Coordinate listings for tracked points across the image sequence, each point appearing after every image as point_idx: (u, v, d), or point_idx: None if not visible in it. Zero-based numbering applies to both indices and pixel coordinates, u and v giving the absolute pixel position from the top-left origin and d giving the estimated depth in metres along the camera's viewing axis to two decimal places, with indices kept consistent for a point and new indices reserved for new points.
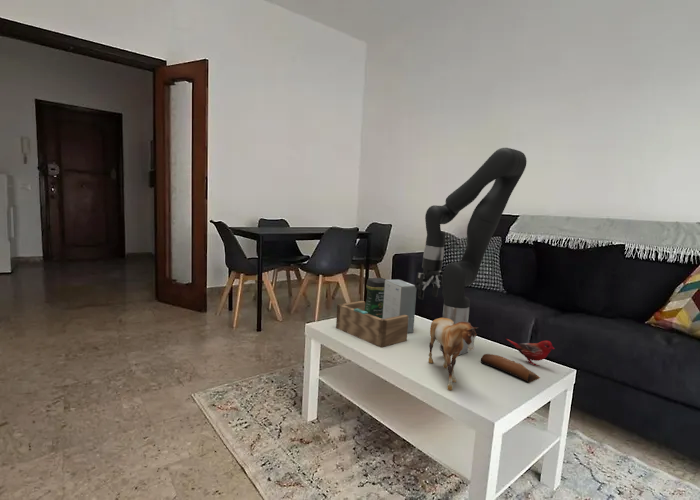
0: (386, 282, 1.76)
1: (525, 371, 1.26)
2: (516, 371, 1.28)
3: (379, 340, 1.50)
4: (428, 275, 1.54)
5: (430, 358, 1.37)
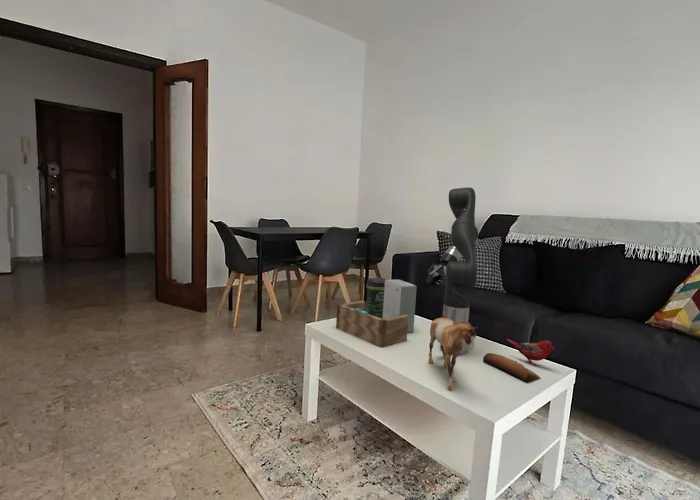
0: (386, 282, 1.76)
1: (524, 371, 1.26)
2: (516, 370, 1.28)
3: (379, 340, 1.50)
4: (438, 266, 1.93)
5: (430, 358, 1.37)
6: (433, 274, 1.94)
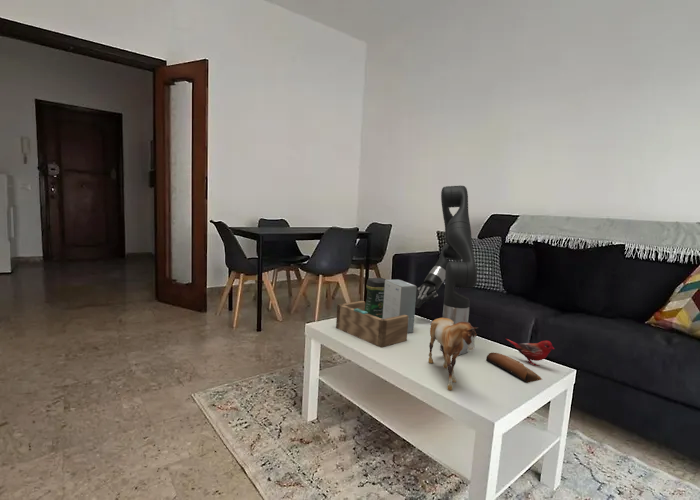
0: (386, 282, 1.76)
1: (524, 370, 1.27)
2: (516, 370, 1.29)
3: (379, 340, 1.50)
4: (421, 288, 1.86)
5: (430, 358, 1.37)
6: None
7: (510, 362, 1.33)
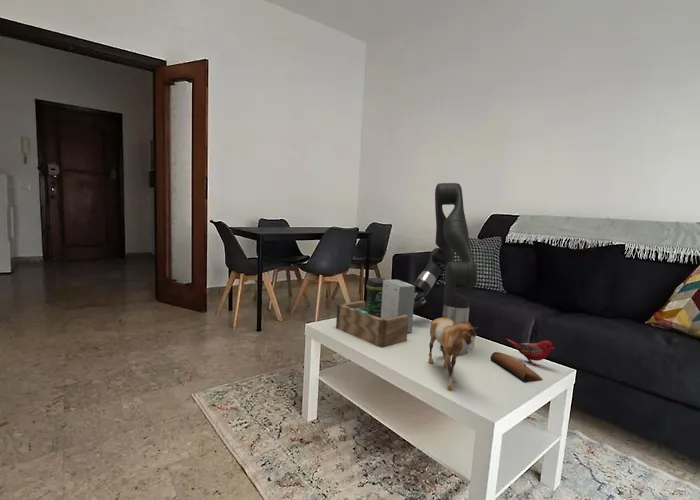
0: (384, 282, 1.75)
1: (523, 370, 1.27)
2: (516, 369, 1.29)
3: (379, 340, 1.50)
4: None
5: (430, 358, 1.37)
6: None
7: (511, 362, 1.33)
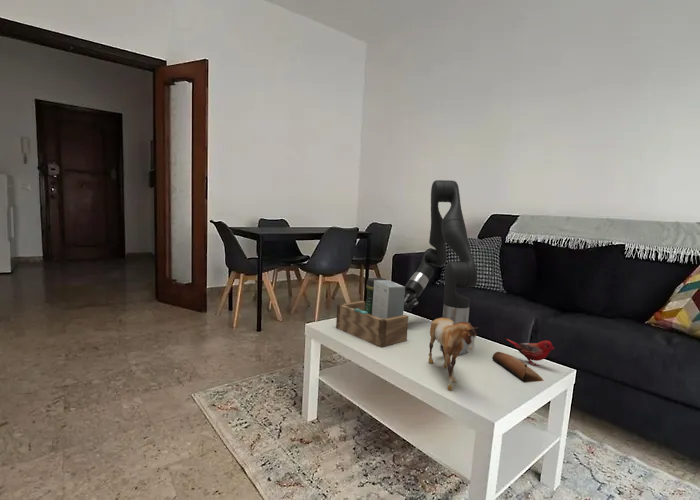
0: (375, 283, 1.73)
1: (523, 370, 1.27)
2: (516, 369, 1.29)
3: (379, 340, 1.50)
4: None
5: (430, 358, 1.37)
6: None
7: (512, 362, 1.33)
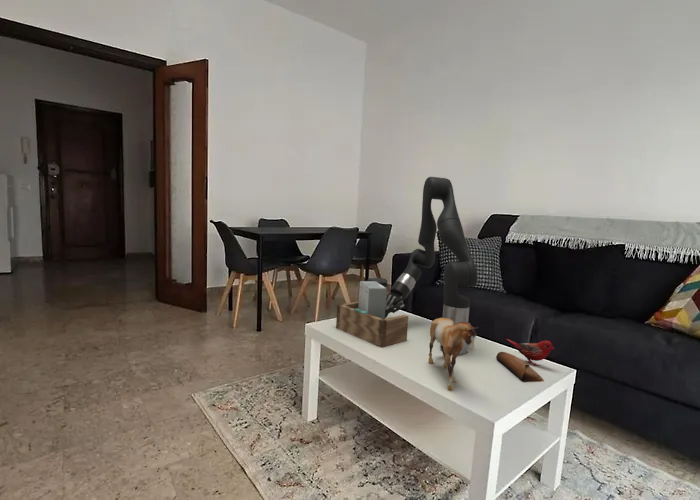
0: (360, 284, 1.69)
1: (522, 370, 1.27)
2: (516, 369, 1.30)
3: (379, 340, 1.50)
4: (387, 297, 1.72)
5: (430, 358, 1.37)
6: None
7: (514, 361, 1.33)
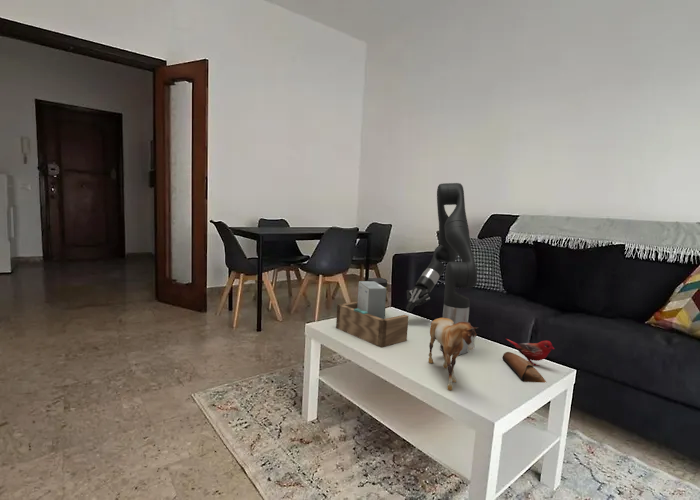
0: (359, 284, 1.69)
1: (523, 370, 1.27)
2: (517, 369, 1.30)
3: (379, 340, 1.50)
4: (413, 291, 1.82)
5: (430, 358, 1.37)
6: None
7: (517, 361, 1.34)
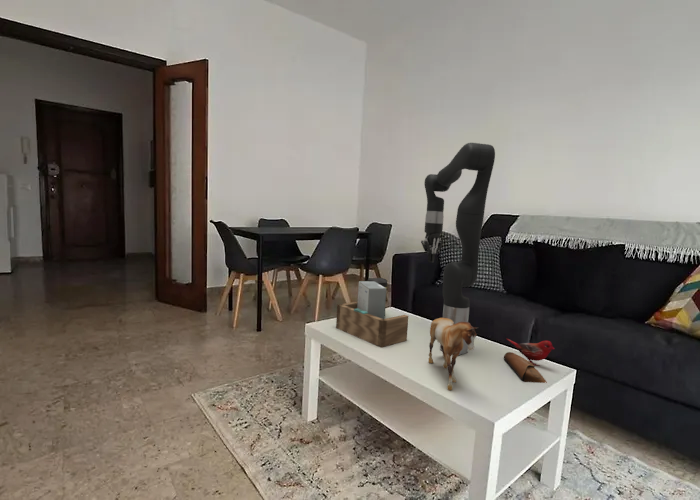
0: (359, 284, 1.69)
1: (523, 370, 1.27)
2: (518, 369, 1.30)
3: (379, 340, 1.50)
4: (430, 240, 1.70)
5: (430, 358, 1.37)
6: None
7: (518, 362, 1.33)
